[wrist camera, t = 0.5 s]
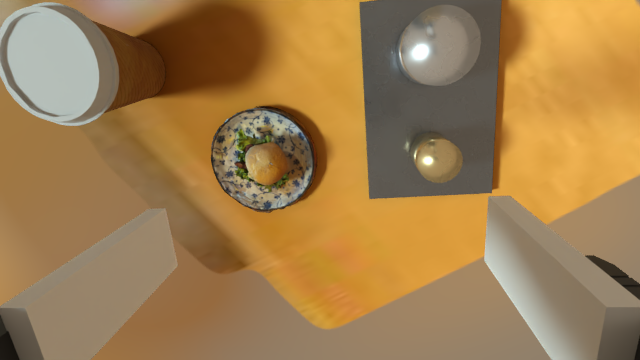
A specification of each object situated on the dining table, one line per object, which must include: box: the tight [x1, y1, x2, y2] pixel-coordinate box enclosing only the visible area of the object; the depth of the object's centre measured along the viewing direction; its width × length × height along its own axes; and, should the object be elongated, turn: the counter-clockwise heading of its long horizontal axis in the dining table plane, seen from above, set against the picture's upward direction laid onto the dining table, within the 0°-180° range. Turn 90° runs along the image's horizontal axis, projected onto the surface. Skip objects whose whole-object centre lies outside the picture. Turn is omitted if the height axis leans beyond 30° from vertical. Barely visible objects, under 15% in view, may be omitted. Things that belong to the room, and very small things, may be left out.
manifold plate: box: [360, 0, 501, 199], centre depth 34 cm, size 20×13×6 cm, turn 5°
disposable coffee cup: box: [0, 2, 166, 126], centre depth 33 cm, size 10×10×12 cm
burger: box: [211, 106, 317, 213], centre depth 37 cm, size 12×12×8 cm
